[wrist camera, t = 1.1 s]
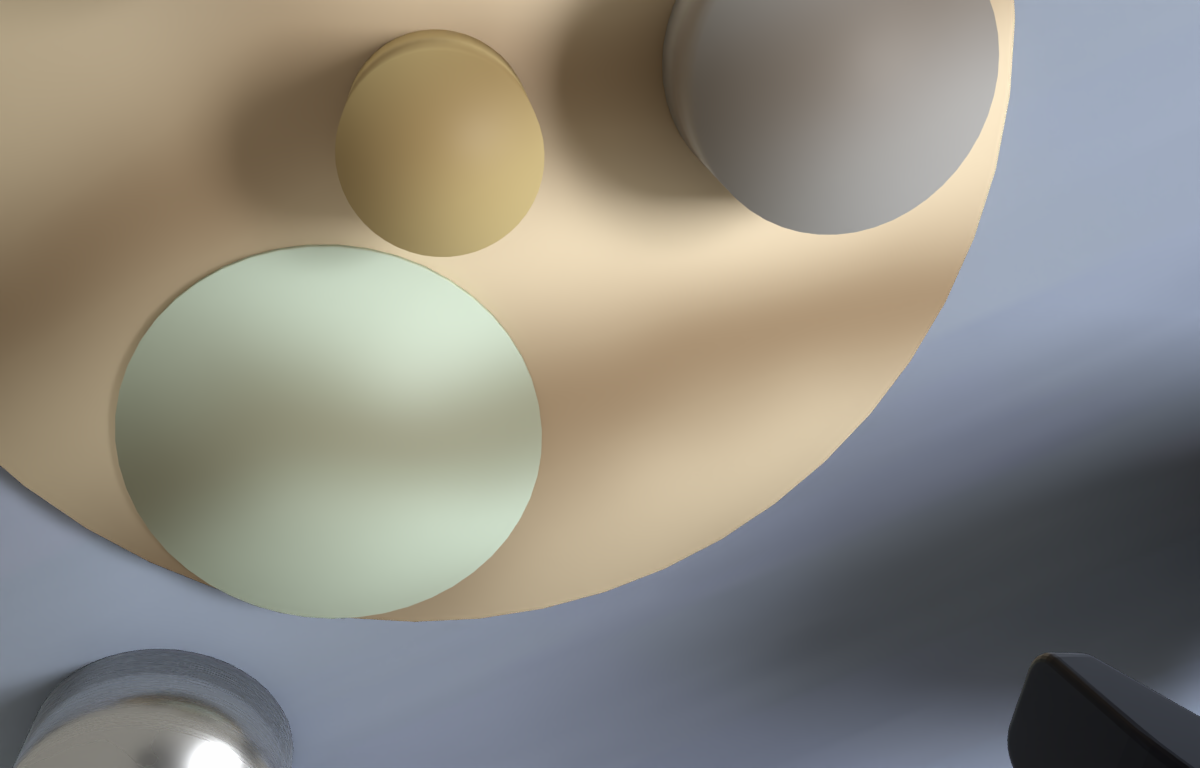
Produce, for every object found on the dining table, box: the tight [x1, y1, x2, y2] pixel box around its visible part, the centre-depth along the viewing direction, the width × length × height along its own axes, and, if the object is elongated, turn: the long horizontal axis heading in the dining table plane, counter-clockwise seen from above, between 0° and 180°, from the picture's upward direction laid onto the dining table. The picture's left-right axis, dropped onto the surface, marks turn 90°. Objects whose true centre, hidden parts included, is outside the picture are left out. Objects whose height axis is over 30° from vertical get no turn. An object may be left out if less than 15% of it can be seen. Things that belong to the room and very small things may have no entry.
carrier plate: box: [0, 0, 1015, 622], centre depth 19 cm, size 21×21×3 cm
